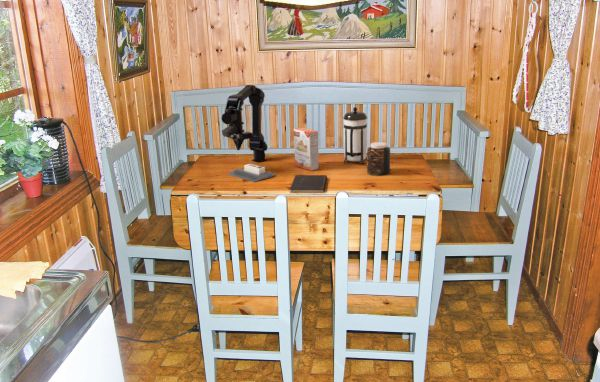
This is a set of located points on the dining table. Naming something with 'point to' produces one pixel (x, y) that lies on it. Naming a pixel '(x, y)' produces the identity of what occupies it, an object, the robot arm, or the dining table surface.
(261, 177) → the mount plate
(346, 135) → the coffee press
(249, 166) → the white rectangular block
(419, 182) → the dining table surface
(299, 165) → the cracker box
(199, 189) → the dining table surface
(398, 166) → the dining table surface
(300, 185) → the hardcover book
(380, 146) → the jar
